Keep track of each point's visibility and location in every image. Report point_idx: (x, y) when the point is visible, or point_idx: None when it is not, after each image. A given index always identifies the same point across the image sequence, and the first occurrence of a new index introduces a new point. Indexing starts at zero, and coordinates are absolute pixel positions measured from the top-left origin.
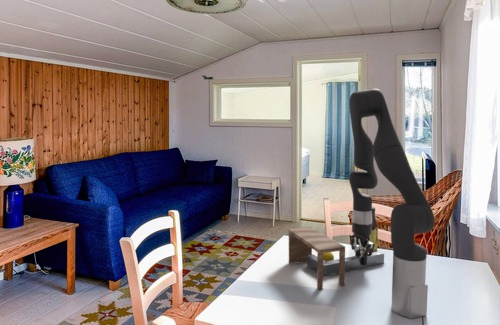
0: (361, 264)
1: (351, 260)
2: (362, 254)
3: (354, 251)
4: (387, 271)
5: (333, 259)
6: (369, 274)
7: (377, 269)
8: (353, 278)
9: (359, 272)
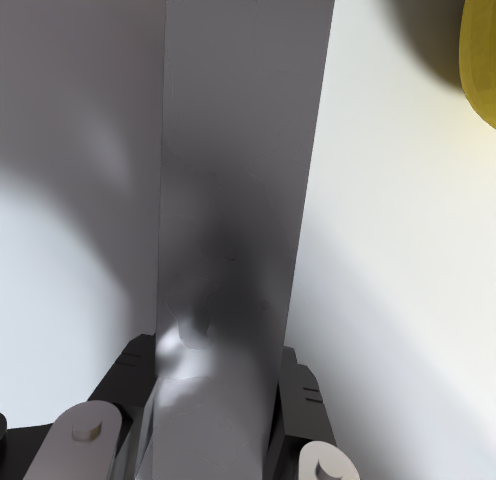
0: None
1: (163, 181)
2: (73, 438)
3: (344, 458)
4: None
5: (483, 79)
6: (37, 261)
7: None
8: (16, 28)
9: (119, 215)
